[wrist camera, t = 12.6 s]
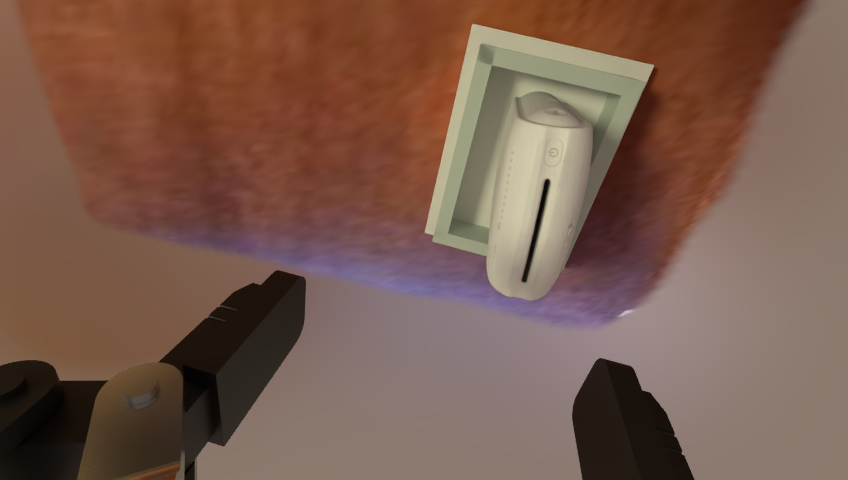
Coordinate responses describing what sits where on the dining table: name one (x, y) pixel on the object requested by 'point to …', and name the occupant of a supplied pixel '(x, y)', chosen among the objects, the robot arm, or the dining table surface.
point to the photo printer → (537, 194)
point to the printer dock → (487, 112)
